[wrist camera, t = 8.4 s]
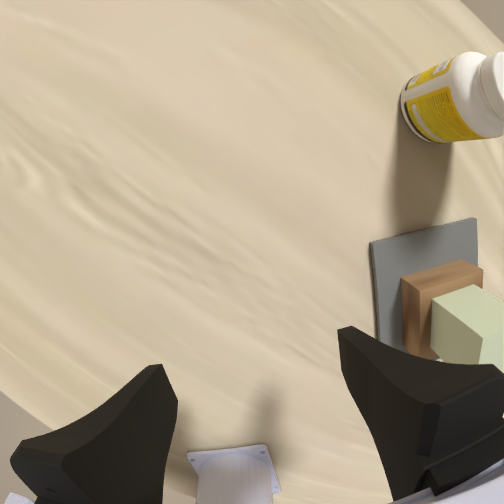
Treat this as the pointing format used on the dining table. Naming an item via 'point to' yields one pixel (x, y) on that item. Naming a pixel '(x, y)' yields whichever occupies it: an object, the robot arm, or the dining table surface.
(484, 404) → the robot arm
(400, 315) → the mat
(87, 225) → the dining table surface
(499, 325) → the sage pillar
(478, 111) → the supplement bottle
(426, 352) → the walnut block
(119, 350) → the dining table surface
